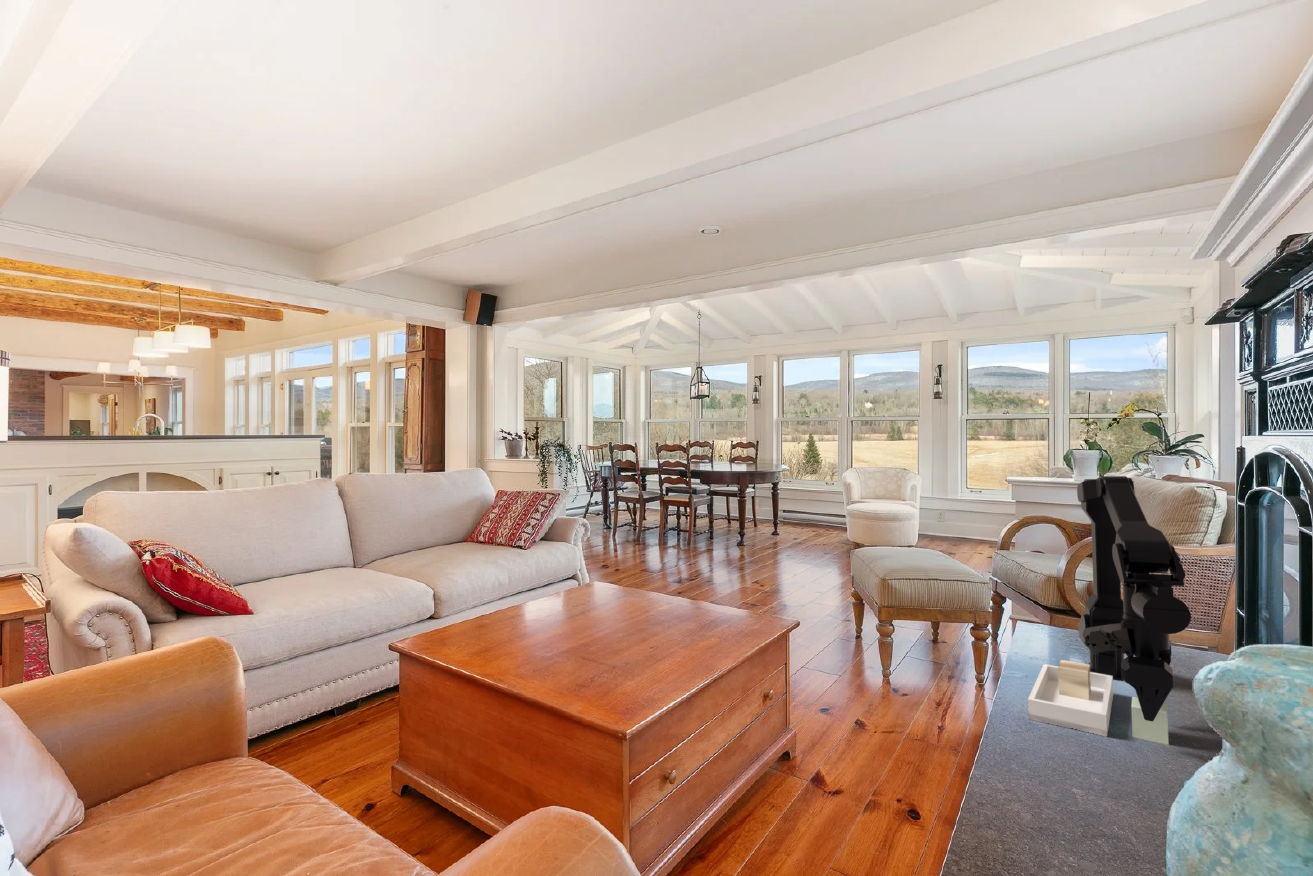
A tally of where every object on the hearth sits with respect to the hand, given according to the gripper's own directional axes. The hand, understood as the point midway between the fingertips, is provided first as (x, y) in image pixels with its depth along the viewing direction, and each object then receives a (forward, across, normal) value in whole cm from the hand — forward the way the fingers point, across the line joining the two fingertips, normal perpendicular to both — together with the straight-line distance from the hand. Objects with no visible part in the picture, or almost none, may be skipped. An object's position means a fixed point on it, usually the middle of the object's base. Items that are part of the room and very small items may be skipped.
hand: (1149, 709), depth 100 cm
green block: (+4, 0, 0) cm, 4 cm away
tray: (+4, -5, -11) cm, 13 cm away
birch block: (+3, -9, -11) cm, 14 cm away
